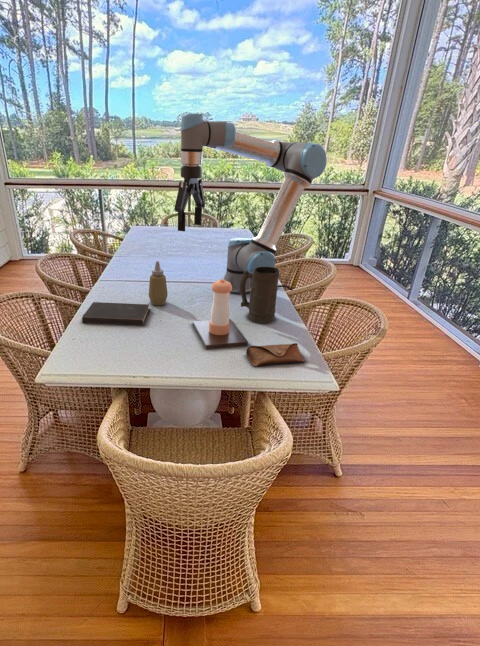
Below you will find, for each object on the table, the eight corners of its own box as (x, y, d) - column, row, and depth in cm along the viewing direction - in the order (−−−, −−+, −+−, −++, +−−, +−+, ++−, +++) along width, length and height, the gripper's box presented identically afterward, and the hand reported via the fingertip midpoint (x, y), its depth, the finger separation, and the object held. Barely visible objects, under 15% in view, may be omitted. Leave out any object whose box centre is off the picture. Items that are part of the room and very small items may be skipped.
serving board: (230, 322, 153) (230, 318, 152) (247, 345, 136) (248, 341, 136) (192, 324, 150) (192, 321, 149) (205, 349, 133) (206, 345, 132)
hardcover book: (93, 307, 162) (93, 301, 161) (149, 309, 162) (149, 304, 160) (82, 323, 149) (81, 317, 147) (143, 325, 148) (142, 320, 147)
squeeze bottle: (164, 307, 164) (164, 264, 155) (146, 305, 165) (144, 263, 156) (169, 300, 171) (169, 259, 162) (151, 299, 172) (150, 257, 163)
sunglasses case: (254, 366, 123) (252, 345, 123) (247, 366, 130) (245, 346, 130) (307, 361, 126) (305, 341, 126) (297, 362, 133) (295, 342, 133)
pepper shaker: (229, 327, 145) (233, 276, 135) (228, 336, 139) (233, 283, 129) (209, 326, 146) (212, 275, 136) (208, 334, 139) (211, 282, 130)
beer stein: (278, 315, 160) (282, 266, 150) (274, 325, 151) (277, 274, 141) (241, 312, 165) (242, 264, 155) (235, 321, 156) (236, 271, 146)
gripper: (197, 163, 150) (195, 221, 161) (164, 166, 131) (164, 232, 142) (215, 164, 147) (212, 223, 158) (184, 167, 128) (183, 235, 139)
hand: (189, 227), depth 150 cm, fingers open, 13 cm apart
